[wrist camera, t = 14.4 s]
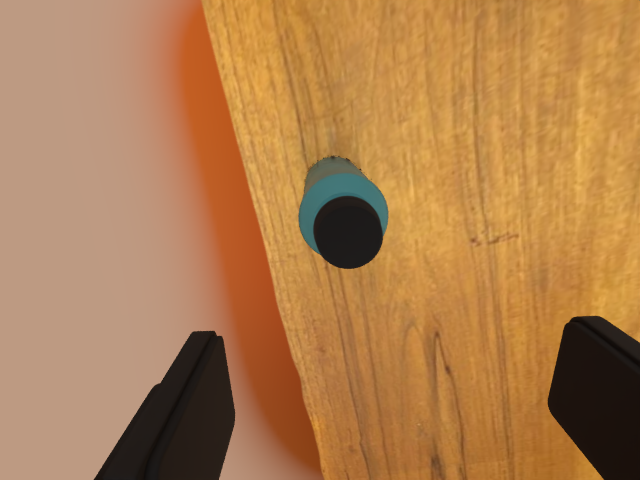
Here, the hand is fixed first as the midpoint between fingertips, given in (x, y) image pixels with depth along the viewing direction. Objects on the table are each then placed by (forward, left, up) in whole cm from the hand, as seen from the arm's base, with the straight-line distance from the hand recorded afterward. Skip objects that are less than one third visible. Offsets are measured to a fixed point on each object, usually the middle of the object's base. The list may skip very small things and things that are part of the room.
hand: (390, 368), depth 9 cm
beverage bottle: (0, 0, -30) cm, 30 cm away
